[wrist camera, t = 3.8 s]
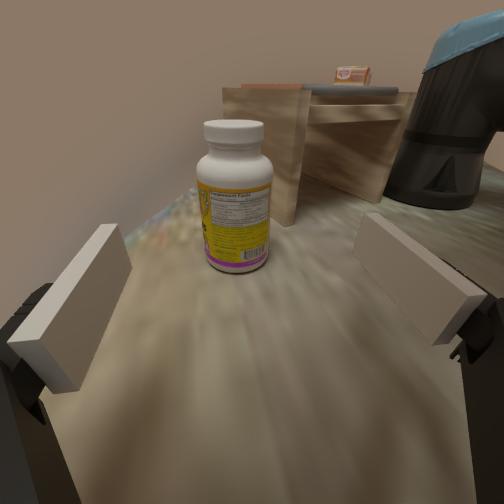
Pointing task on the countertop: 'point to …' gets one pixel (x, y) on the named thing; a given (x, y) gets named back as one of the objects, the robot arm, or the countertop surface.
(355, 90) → the trapdoor
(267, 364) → the countertop surface
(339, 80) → the coffeecake box
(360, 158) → the stand
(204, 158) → the supplement bottle
